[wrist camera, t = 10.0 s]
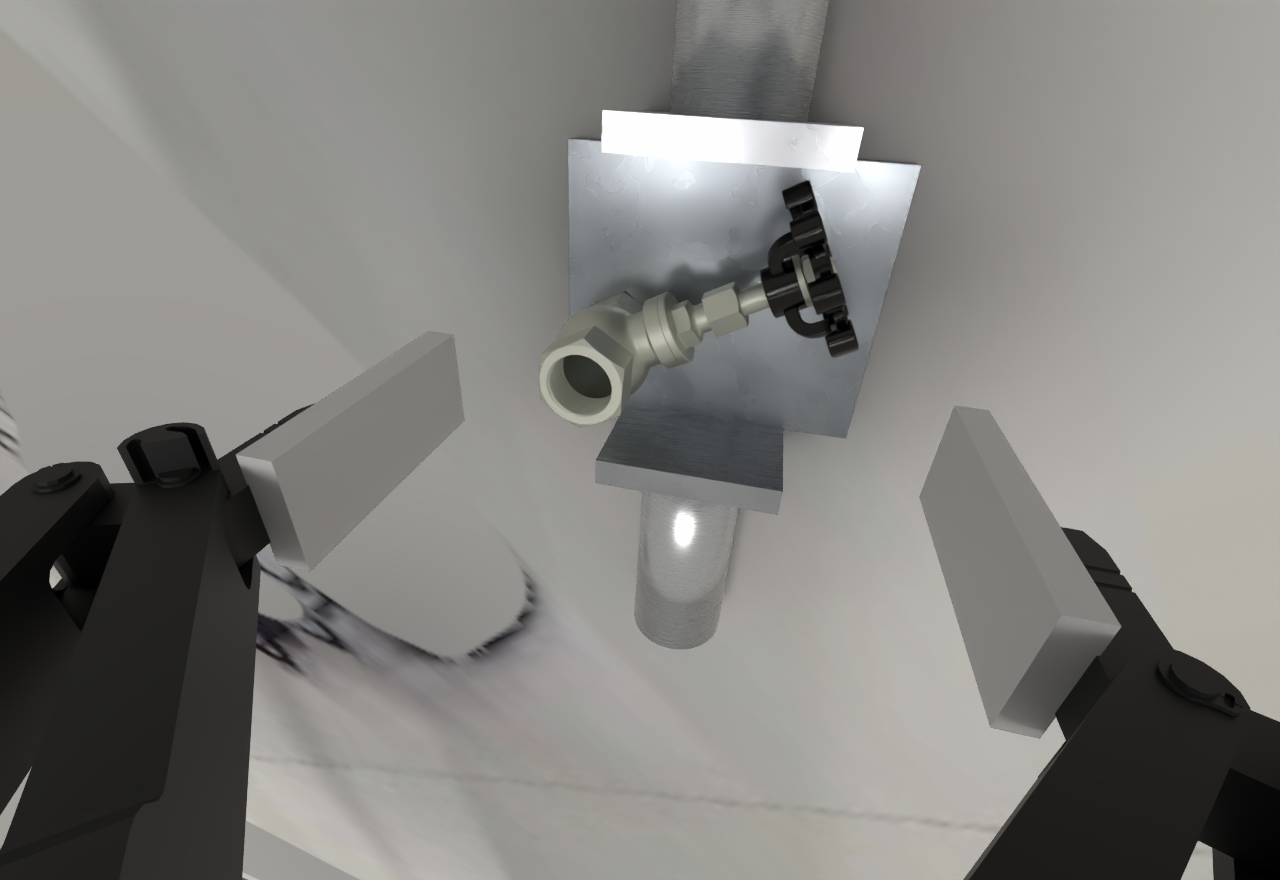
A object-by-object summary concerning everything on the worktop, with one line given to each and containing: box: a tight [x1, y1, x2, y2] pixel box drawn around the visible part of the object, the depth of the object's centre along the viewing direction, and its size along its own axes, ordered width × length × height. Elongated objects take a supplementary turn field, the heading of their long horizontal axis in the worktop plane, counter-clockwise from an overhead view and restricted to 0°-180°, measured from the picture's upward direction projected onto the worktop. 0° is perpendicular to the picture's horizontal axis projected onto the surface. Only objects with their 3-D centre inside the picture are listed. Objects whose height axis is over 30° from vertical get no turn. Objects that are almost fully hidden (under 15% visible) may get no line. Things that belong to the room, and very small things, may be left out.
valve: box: [539, 180, 859, 427], centre depth 23 cm, size 7×7×12 cm
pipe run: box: [568, 0, 921, 649], centre depth 24 cm, size 37×14×6 cm, turn 177°
